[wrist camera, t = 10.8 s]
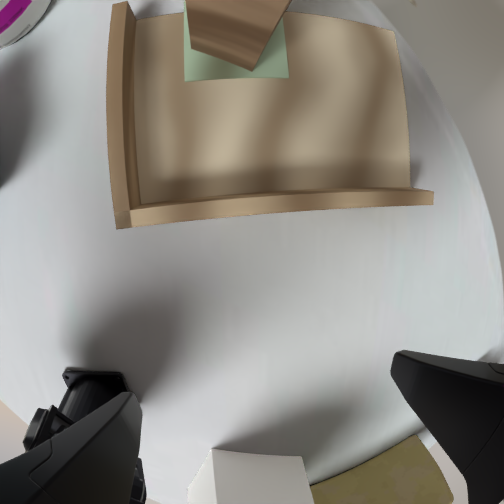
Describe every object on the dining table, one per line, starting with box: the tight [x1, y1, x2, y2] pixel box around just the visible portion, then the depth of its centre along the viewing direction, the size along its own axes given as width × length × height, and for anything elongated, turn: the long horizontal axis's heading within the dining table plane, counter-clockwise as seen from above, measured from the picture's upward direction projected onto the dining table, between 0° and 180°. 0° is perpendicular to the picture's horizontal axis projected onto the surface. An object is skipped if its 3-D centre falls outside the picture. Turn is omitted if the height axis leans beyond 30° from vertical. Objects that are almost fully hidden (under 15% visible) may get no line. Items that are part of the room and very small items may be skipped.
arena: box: [106, 1, 434, 229], centre depth 16 cm, size 22×16×3 cm
